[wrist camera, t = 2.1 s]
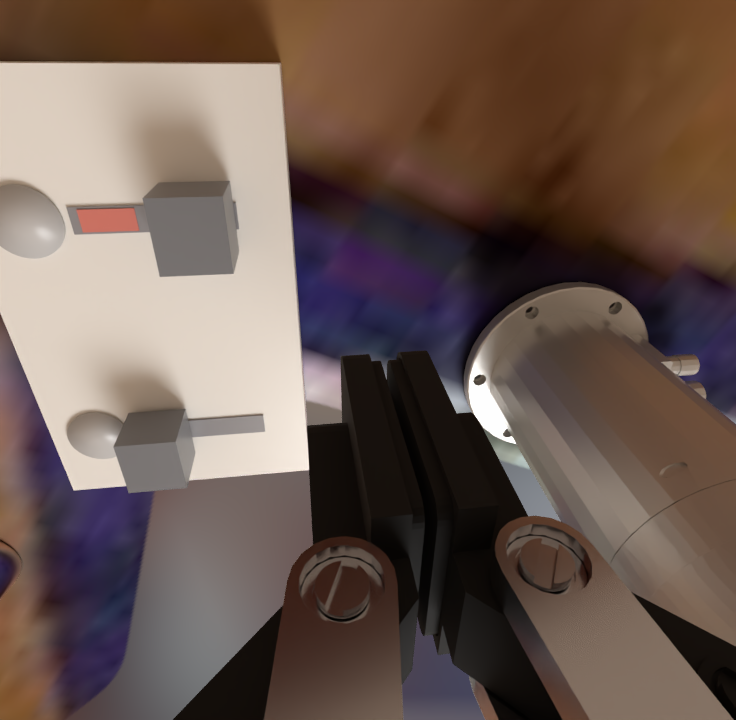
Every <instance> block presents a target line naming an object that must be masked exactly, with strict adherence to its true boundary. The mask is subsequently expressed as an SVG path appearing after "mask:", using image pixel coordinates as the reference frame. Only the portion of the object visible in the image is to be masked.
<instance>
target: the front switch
mask: <svg viewBox="0 0 736 720" xmlns="http://www.w3.org/2000/svg"><path fill="white" fill-rule="evenodd" d="M142 199H143V204H144V208H145V213H146V217H147V222H148V226H149V231H150V235H151V240H152V244H153V249H154V253H155V258H156V262H157V267H158V271H159V276H160V277H172V276H196V275H220V274H234V270H235V267H236V263H237V259H238V255H239V245H238V238H237V230H236V223H235V215H234V207H233V200H232V192H231V185H230V181H203V182H159V183H158V184H156V185H155V186H154V187H153V188H152V189H151V190H150V191H149V192H148V193H147V194H146V195H145V196H144V197H143V198H142Z"/></svg>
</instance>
